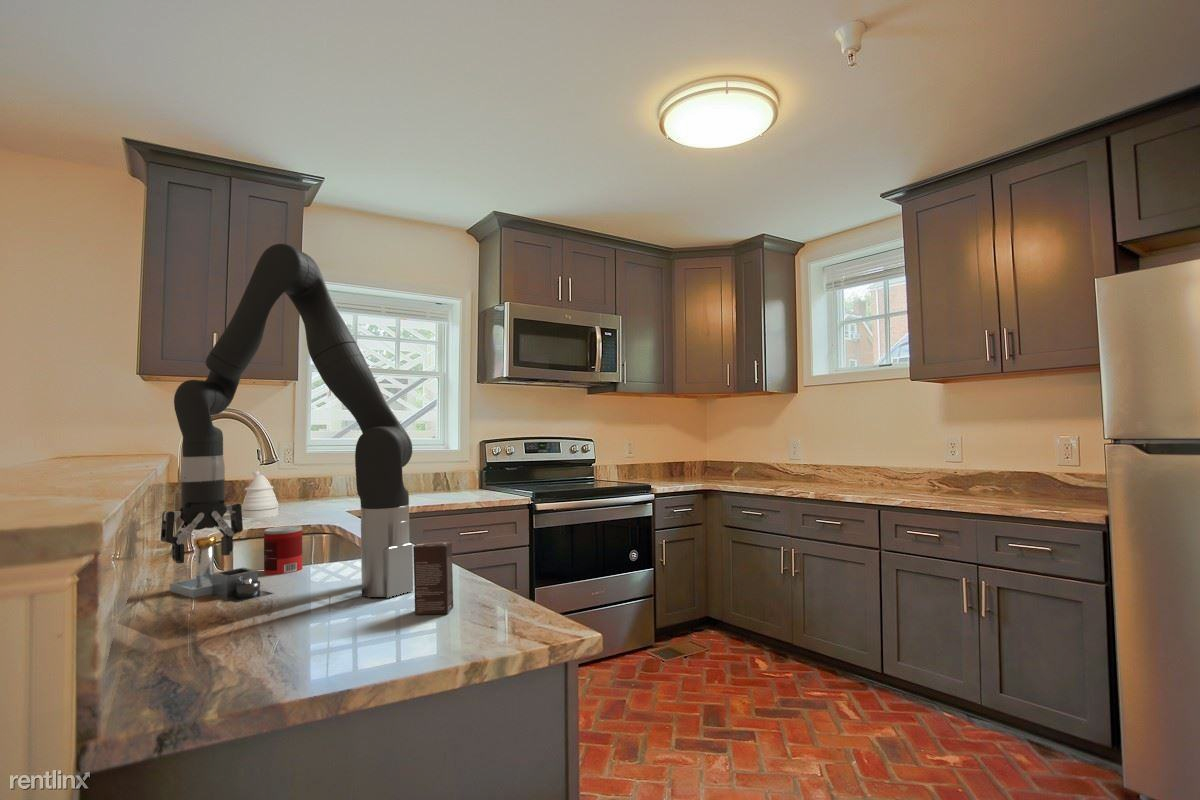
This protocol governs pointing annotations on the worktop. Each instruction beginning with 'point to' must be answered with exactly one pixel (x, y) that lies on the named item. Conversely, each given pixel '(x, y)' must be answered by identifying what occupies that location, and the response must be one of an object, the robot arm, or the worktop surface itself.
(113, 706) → the worktop surface
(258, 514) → the honey pot
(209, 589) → the tray
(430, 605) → the box
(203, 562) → the lock pin
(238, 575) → the pulley bracket
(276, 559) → the canned food
